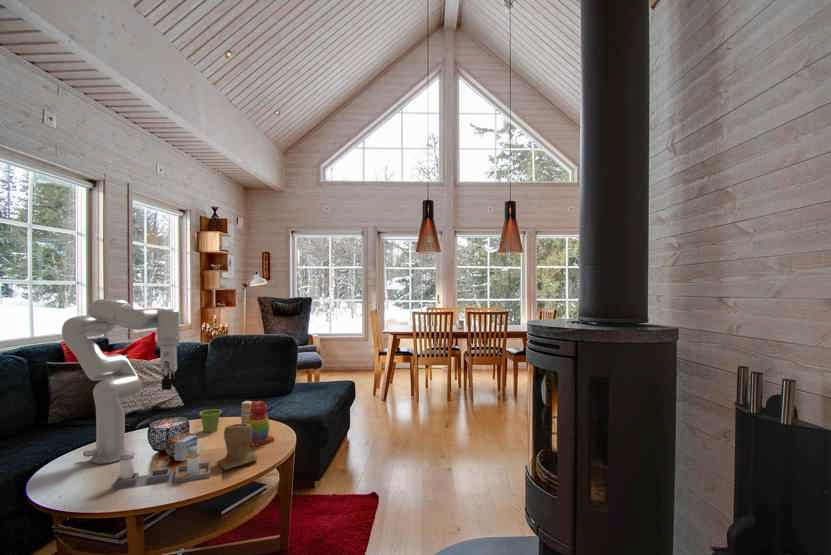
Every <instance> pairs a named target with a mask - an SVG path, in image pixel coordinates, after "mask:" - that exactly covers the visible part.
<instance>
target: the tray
mask: <svg viewBox="0 0 831 555" xmlns="http://www.w3.org/2000/svg"><path fill="white" fill-rule="evenodd" d="M211 463H212V462H211V461H206V462H199V469H202V468H208V471H207V472H203V473H202V472H201V473H199V474H195V475H187V474H186V475H182V476H179V472H181V471H187V464H183V465H177V466H176V468H175V469H176V470H175V472H174V476H173V482H174V483H179V482H186V481H187V482H189V481H194V480H195V481H196V480H201V479H202V480H203V479H207V478H208V479H209V478H211V468H212V467H211Z"/></svg>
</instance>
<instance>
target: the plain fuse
mask: <svg viewBox="0 0 831 555" xmlns="http://www.w3.org/2000/svg"><path fill="white" fill-rule="evenodd" d="M119 466H120V467H119V471H120V472H119V473H120V474H119V475H120V481H121V480H129V479H134V473H135V452H134V451H128V452H124V453H122V454H120V461H119Z"/></svg>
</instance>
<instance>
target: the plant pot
mask: <svg viewBox="0 0 831 555" xmlns="http://www.w3.org/2000/svg"><path fill="white" fill-rule="evenodd" d="M221 413H222V410H221V409H206V410H202V411H200V412H199V416H200V418H201V424H202V429H203V430H202V431H203V432H204V433H213V431H214V432H216V431H217V430H218V427H219V421H220V416H221Z"/></svg>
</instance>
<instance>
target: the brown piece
mask: <svg viewBox="0 0 831 555" xmlns="http://www.w3.org/2000/svg"><path fill="white" fill-rule="evenodd" d="M223 431H224V432H223V438H224V442H225V447H226V452H227V453H226V455H225V456H224V457H223V458H221V459H219V460H217V464H219V465H220V467H221V470H222V471H225V470H229V469H233V468H236V467H237V468H238V467H240V466H243V465H247V464H248V463H251V462H255V461H256V460H258V459H259V457H258V456H257V455H256V454H254V453H251V451H250V447H251V445H250V443H251V440H252V426H251V425H250V424H241V423H236V424H229V425H226V426H225V428H224V430H223Z"/></svg>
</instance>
